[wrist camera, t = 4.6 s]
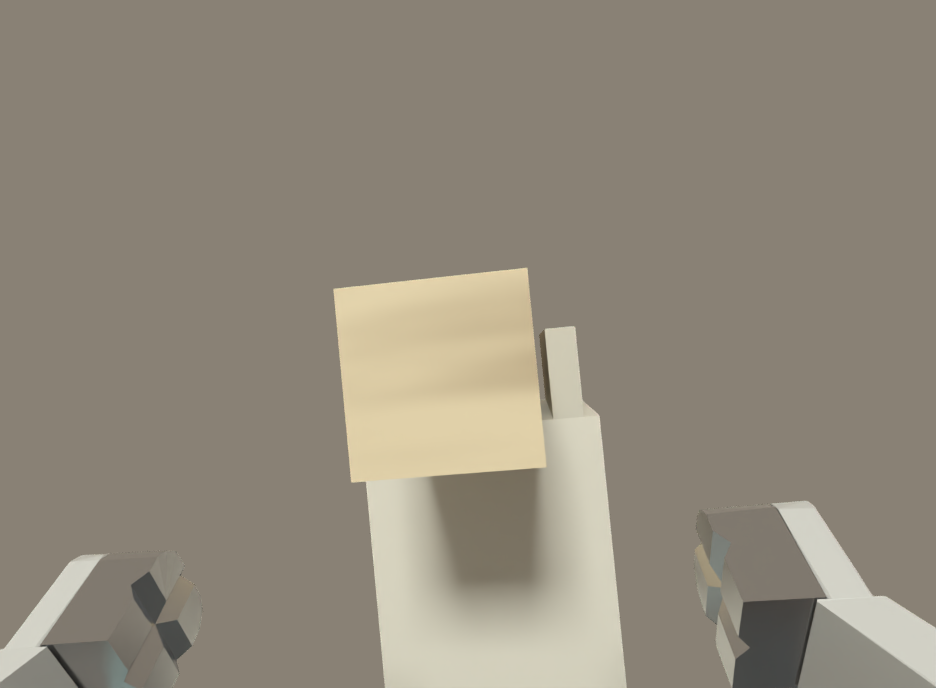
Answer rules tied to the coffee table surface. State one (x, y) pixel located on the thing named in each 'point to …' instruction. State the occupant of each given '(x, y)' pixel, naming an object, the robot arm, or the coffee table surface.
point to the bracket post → (504, 561)
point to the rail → (440, 376)
